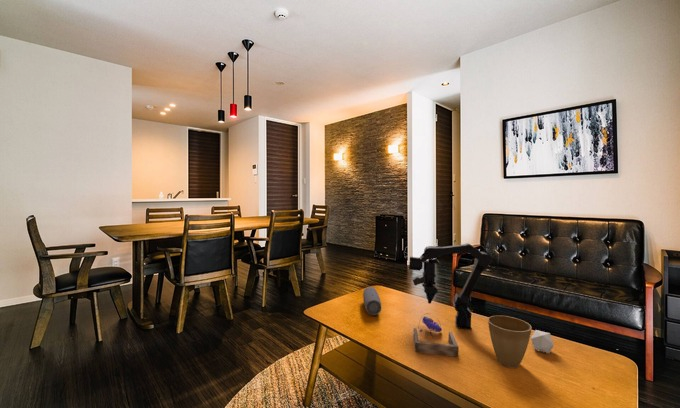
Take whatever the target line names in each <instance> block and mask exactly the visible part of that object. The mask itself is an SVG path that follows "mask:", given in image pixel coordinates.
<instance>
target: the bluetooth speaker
mask: <svg viewBox="0 0 680 408" xmlns="http://www.w3.org/2000/svg"><path fill="white" fill-rule="evenodd" d="M362 297H363V304H364V305H363V306H364V307H365V310H366V312H367V313H368V314H369V315H371V316H376V315H378V314H380V313H381V312H382V302H381V301H382V300H381V297H380V296H379V293H378V290H376V288H374V287H373V286H367V287H366V288H365V289H364V290H363V292H362Z"/></svg>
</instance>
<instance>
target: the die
mask: <svg viewBox="0 0 680 408" xmlns="http://www.w3.org/2000/svg"><path fill="white" fill-rule="evenodd" d="M531 335H532V336H530V341H531V344H532V346H533V349H536V350H535V351H537V350H539V351H538V352H540V351H543V352H542V353H544V352H546V353H545V354H548V353H549V354H550V352H551V351H552V349H553V348H554V346H555V343H554V341H553V338H552V336H551V333H550V332H545V331H541V330H539V329H538V330H537V329H535V330H534V332H533V334H531Z"/></svg>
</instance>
